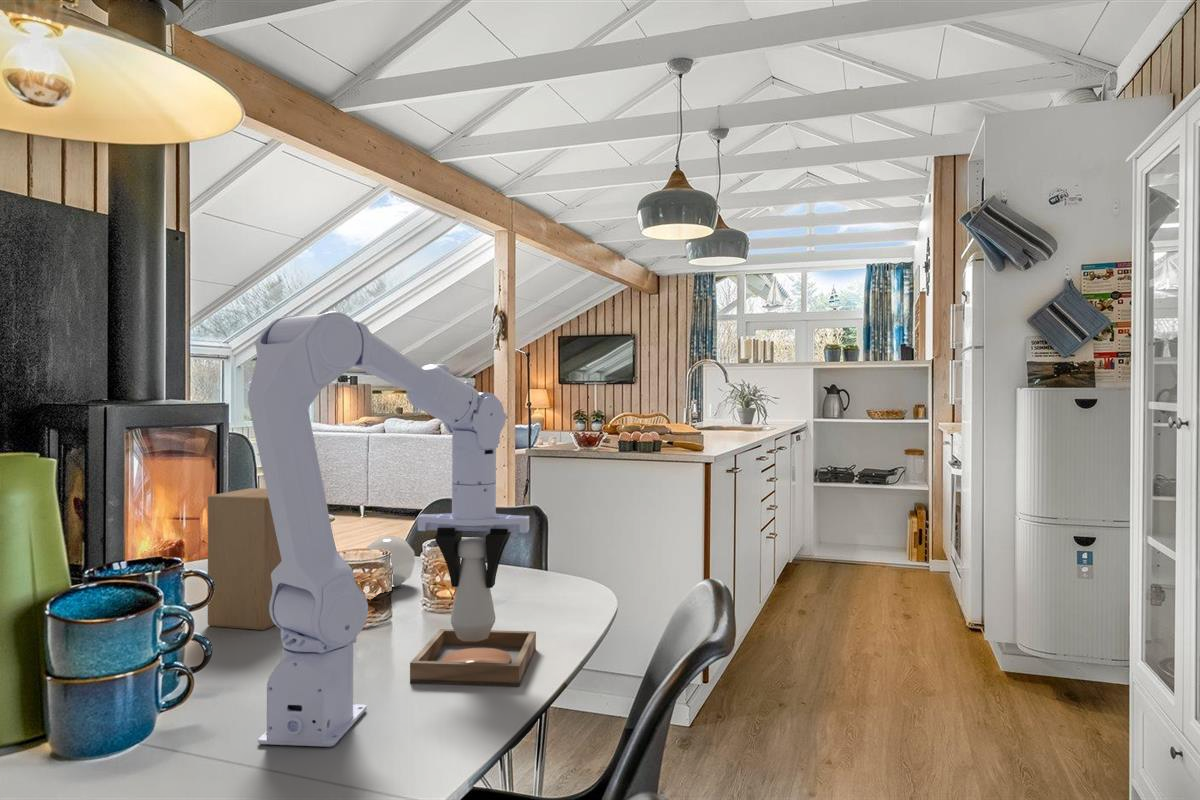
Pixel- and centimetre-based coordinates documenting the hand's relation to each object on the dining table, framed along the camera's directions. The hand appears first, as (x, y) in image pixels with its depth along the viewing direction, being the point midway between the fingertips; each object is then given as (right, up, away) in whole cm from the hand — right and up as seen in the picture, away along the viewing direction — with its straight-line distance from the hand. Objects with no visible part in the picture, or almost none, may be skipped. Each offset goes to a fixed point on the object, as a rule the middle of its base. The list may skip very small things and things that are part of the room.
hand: (473, 585), depth 101 cm
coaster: (+1, -10, 0) cm, 10 cm away
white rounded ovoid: (-22, -10, +37) cm, 44 cm away
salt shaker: (0, -7, 0) cm, 7 cm away
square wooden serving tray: (+1, -10, 0) cm, 10 cm away
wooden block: (-37, -10, +19) cm, 43 cm away
